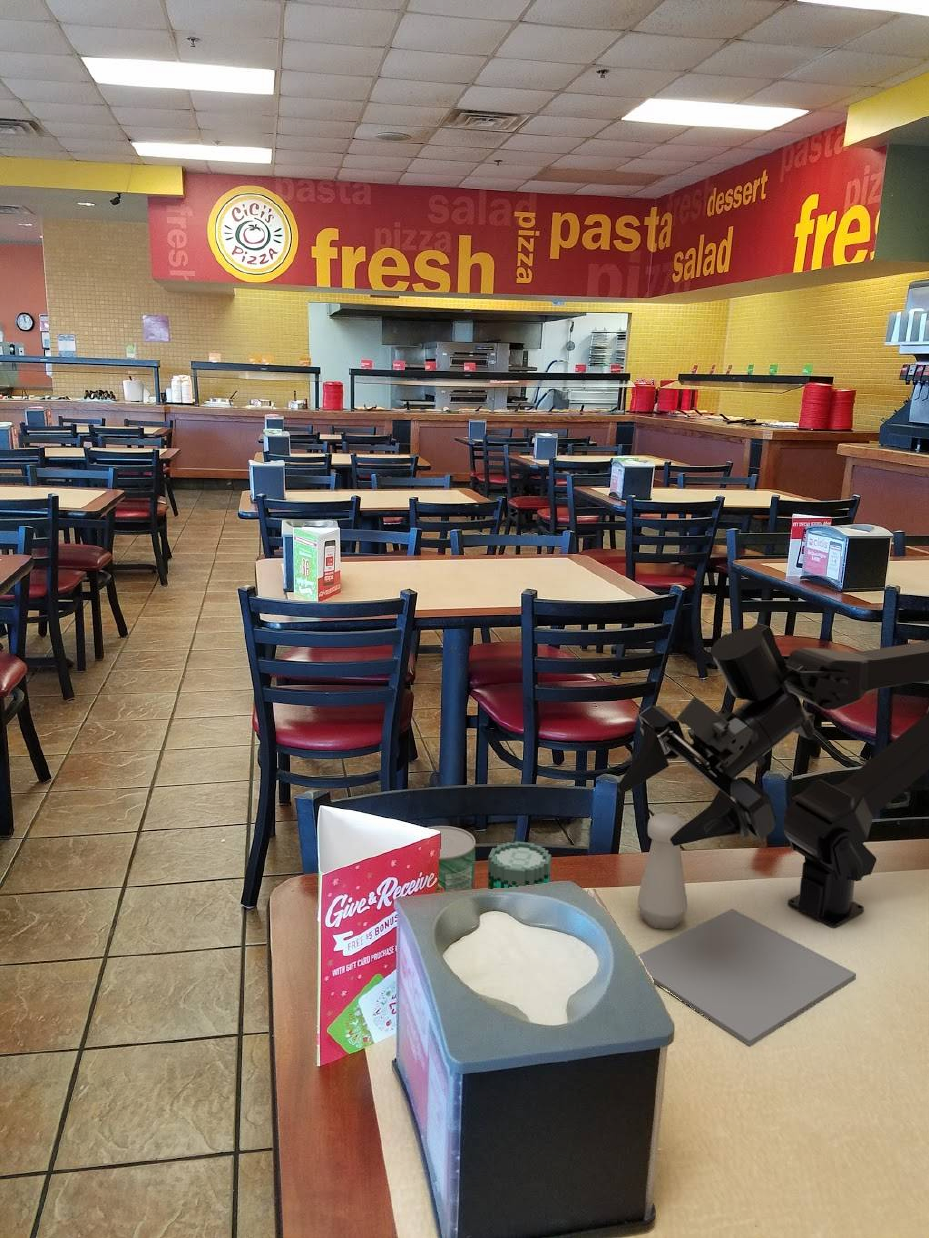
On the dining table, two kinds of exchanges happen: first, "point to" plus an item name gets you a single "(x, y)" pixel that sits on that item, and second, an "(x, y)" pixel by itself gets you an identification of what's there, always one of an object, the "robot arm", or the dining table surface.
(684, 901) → the salt shaker
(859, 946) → the dining table surface
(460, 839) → the canned tomato
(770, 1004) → the mat
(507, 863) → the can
